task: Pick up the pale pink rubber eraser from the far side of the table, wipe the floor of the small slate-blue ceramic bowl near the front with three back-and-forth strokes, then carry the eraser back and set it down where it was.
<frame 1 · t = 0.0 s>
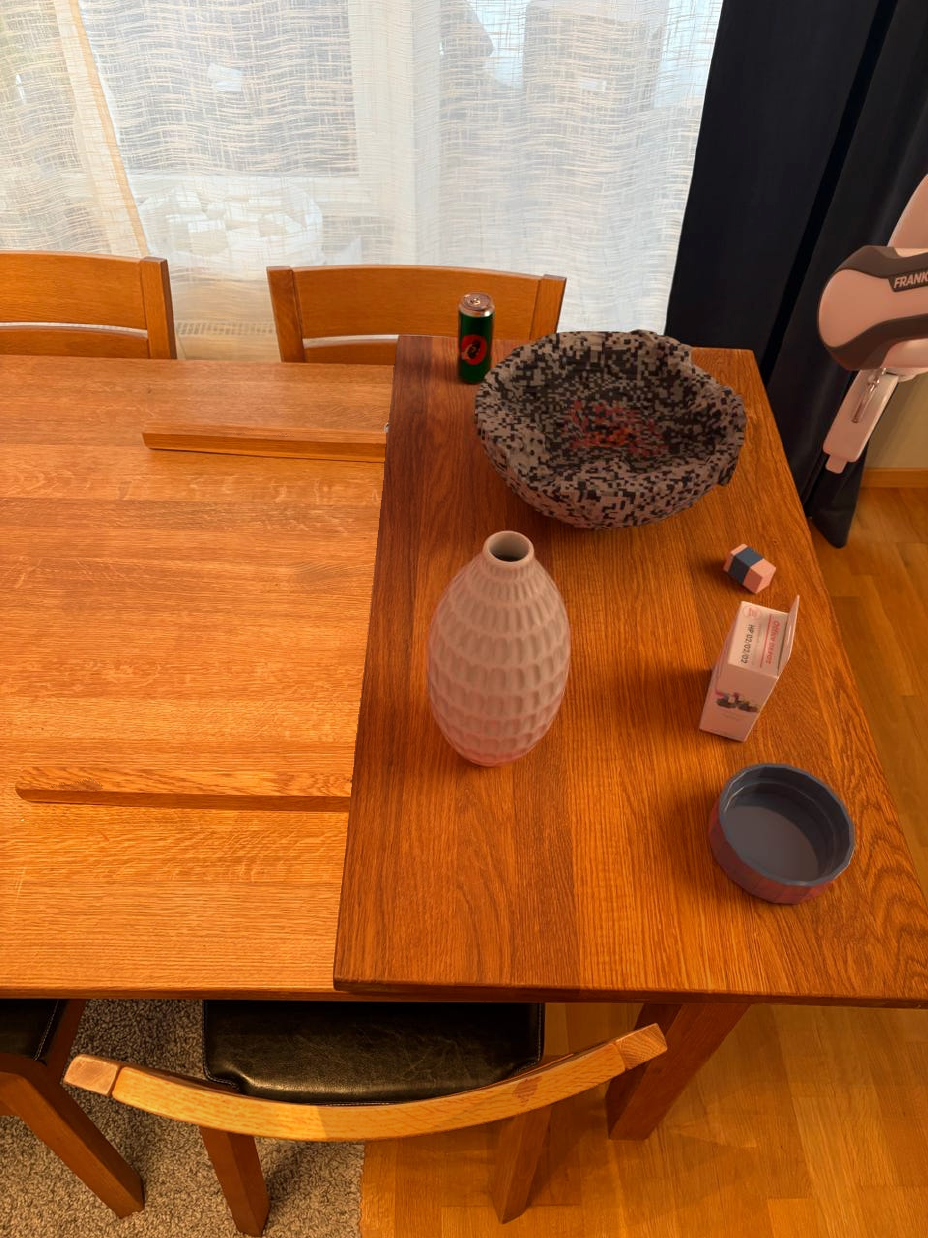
hand: (846, 444, 96), 14 cm above the table, tool pointing down, fingers open, 8 cm apart
soda can: (473, 376, 126), on the table
vase: (489, 741, 87), on the table
bowl: (591, 493, 111), on the table
eraser: (745, 577, 102), on the table
ink box: (727, 706, 90), on the table
blue bowl: (771, 842, 80), on the table
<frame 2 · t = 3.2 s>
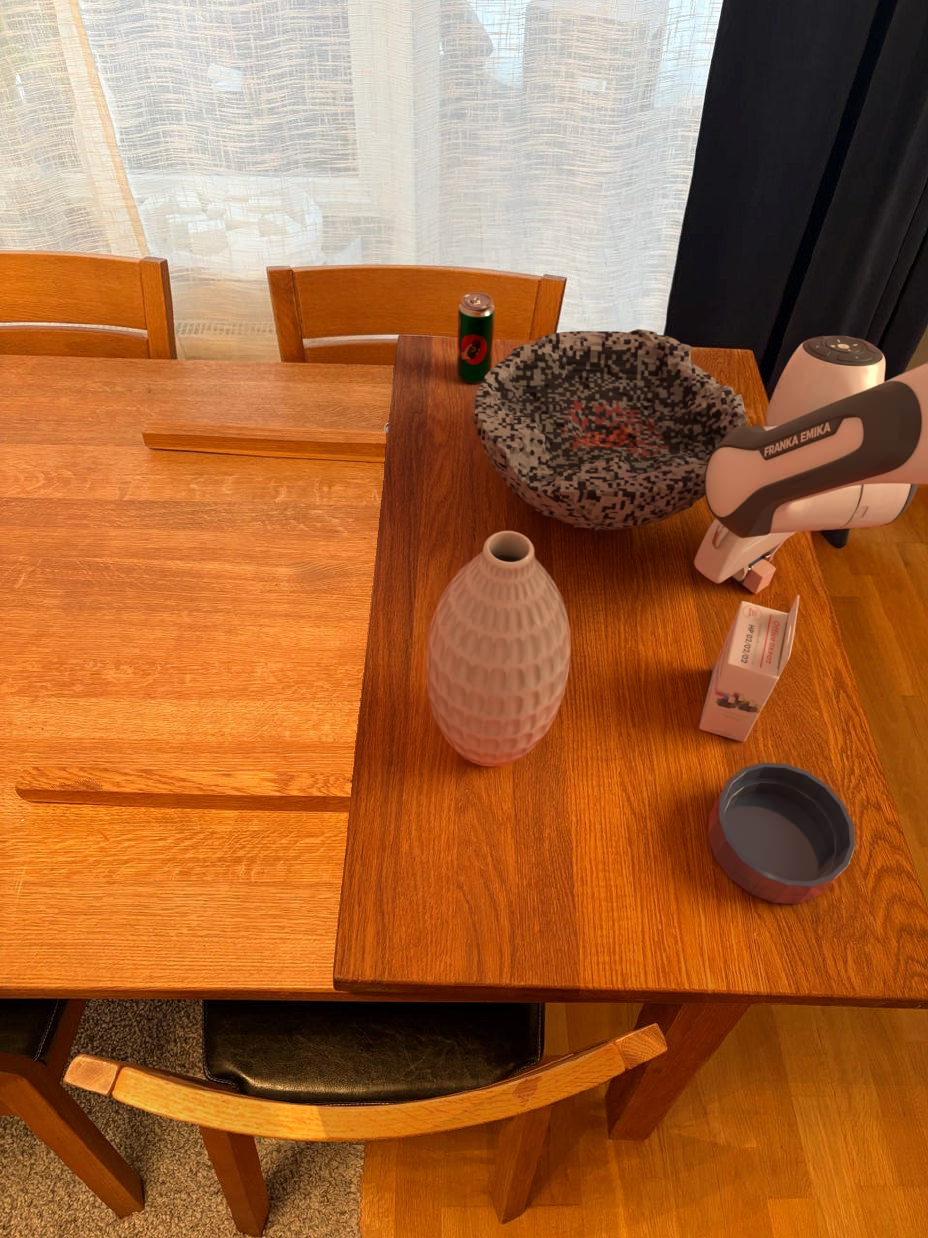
hand: (749, 567, 101), 2 cm above the table, tool pointing down, fingers closed on eraser, 2 cm apart
eraser: (745, 577, 102), on the table, touching gripper
everything else where it was.
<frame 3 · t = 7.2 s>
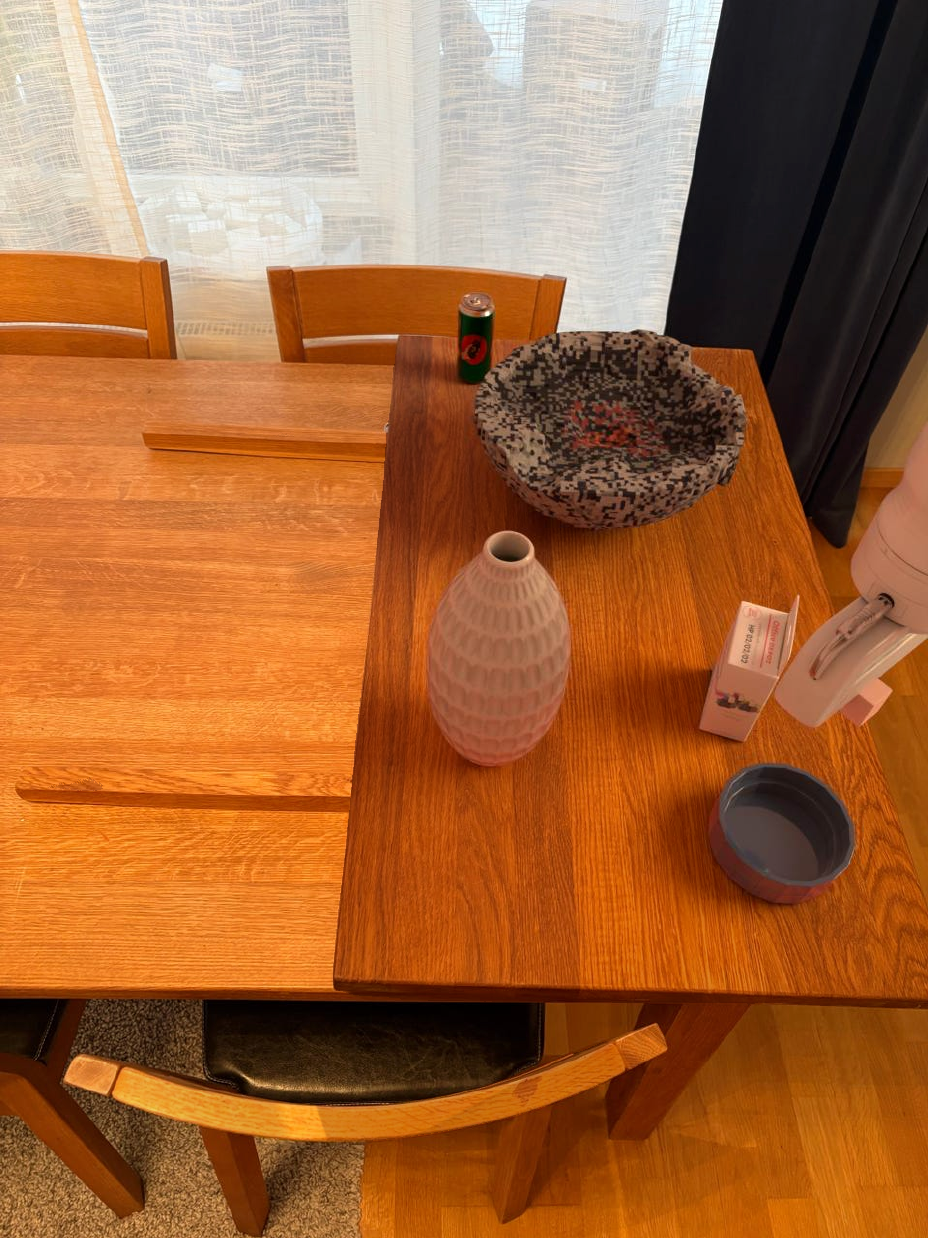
hand: (850, 687, 67), 21 cm above the table, tool pointing down, fingers closed on eraser, 2 cm apart
eraser: (841, 698, 68), point 19 cm above the table, touching gripper
everything else where it was.
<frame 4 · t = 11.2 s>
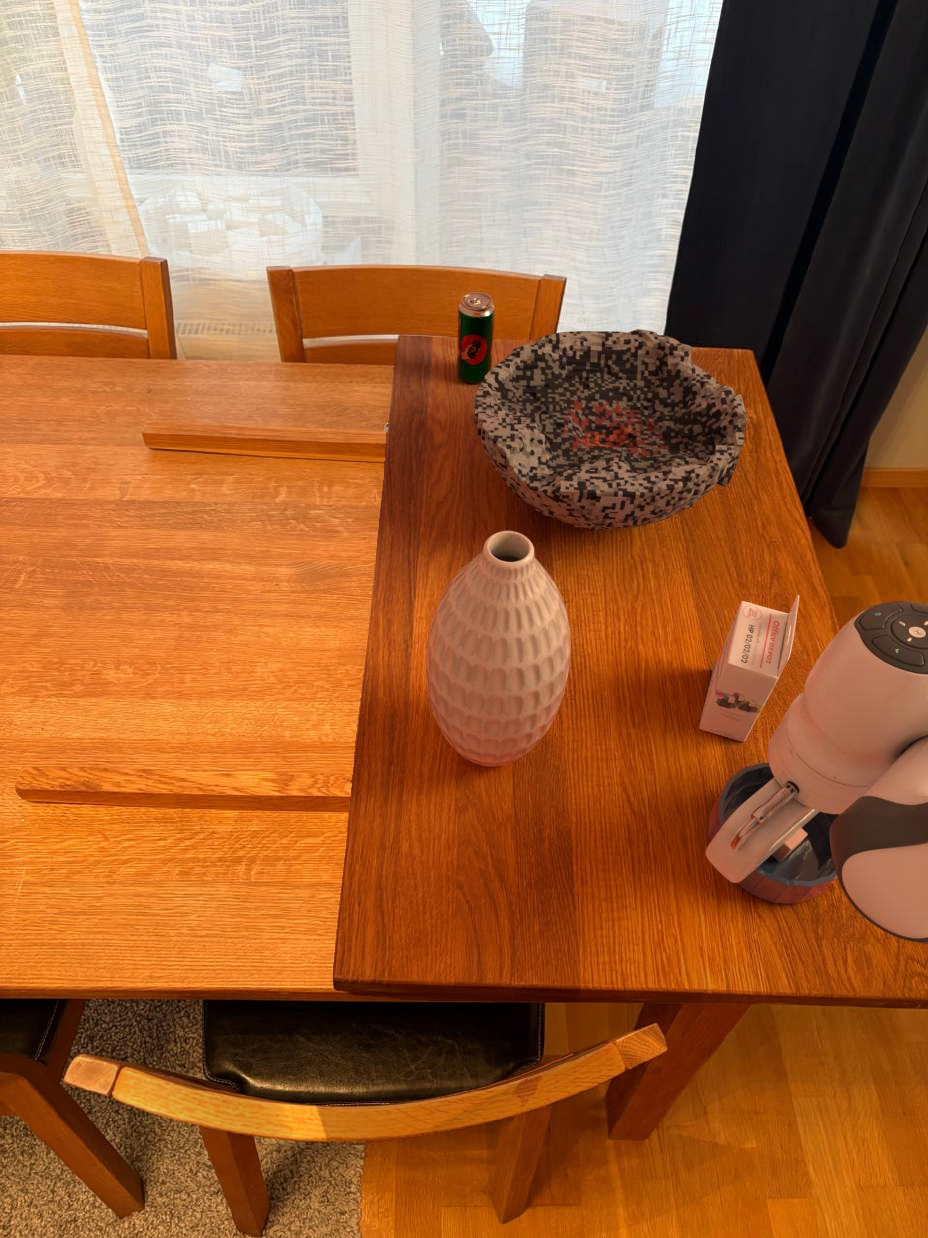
hand: (774, 830, 79), 2 cm above the table, tool pointing down, fingers closed on eraser, 2 cm apart
eraser: (766, 834, 80), point 1 cm above the table, touching gripper
everything else where it was.
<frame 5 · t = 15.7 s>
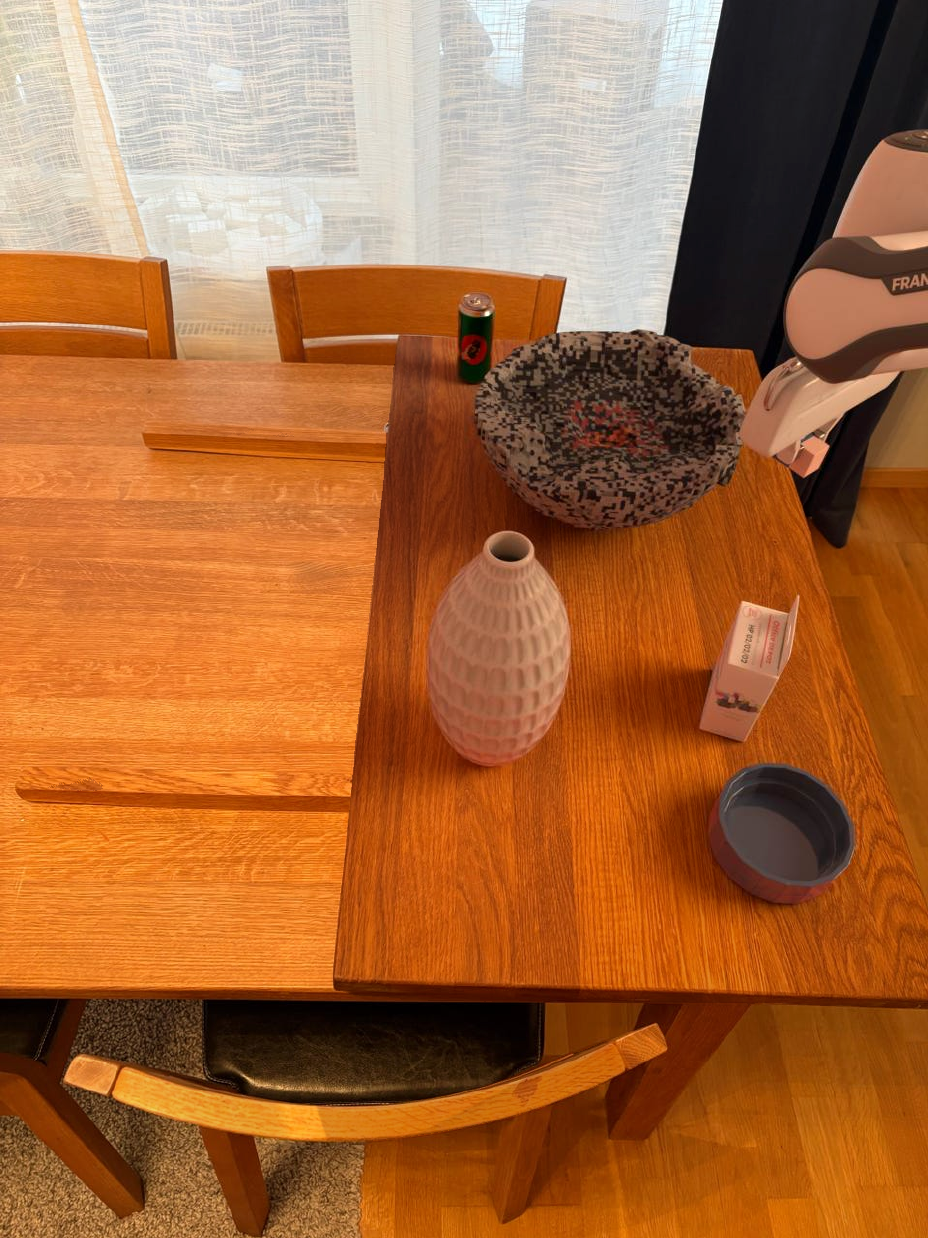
hand: (799, 450, 86), 20 cm above the table, tool pointing down, fingers closed on eraser, 2 cm apart
eraser: (791, 459, 87), point 18 cm above the table, touching gripper
everything else where it was.
when the fingers open (1 cm above the table, at t = 19.3 s): eraser stays where it is, on the table.
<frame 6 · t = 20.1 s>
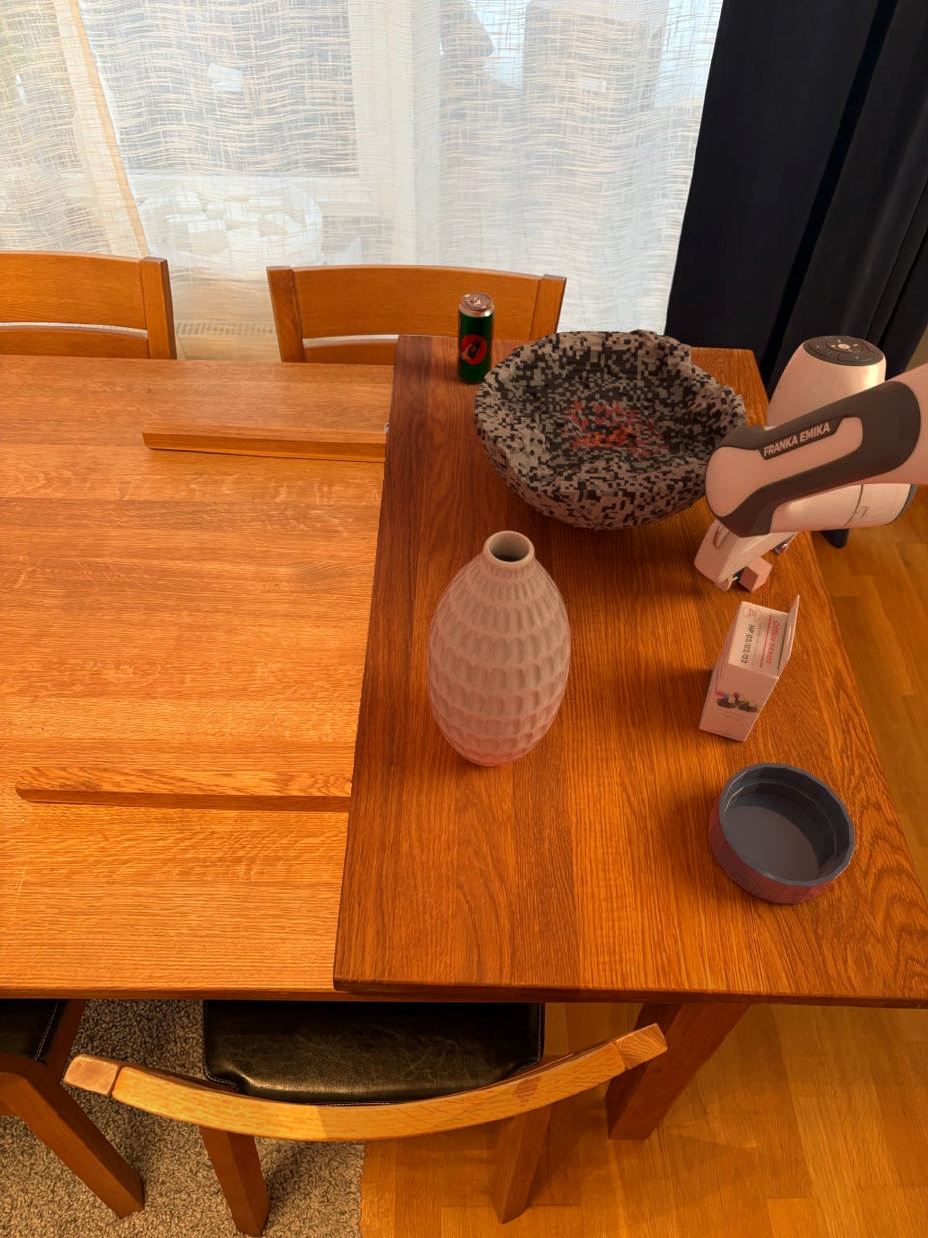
hand: (750, 567, 101), 2 cm above the table, tool pointing down, fingers open, 8 cm apart
eraser: (741, 575, 102), on the table
everything else where it was.
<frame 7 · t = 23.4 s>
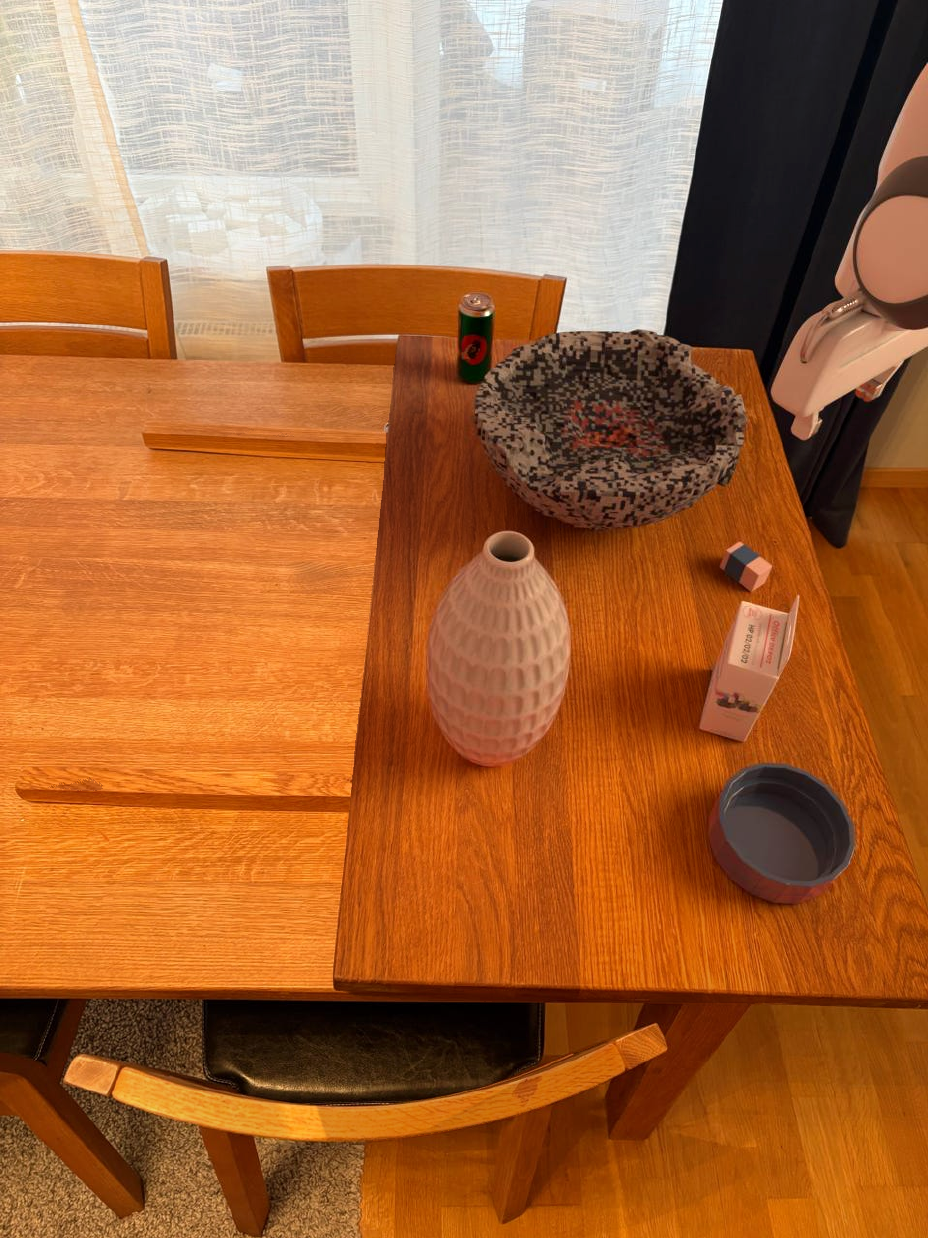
hand: (834, 414, 78), 27 cm above the table, tool pointing down, fingers open, 8 cm apart
nothing on the table moved.
at the end: eraser inside the target area (0.5 cm from its centre), on the table; eraser touching table; the gripper is holding nothing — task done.
